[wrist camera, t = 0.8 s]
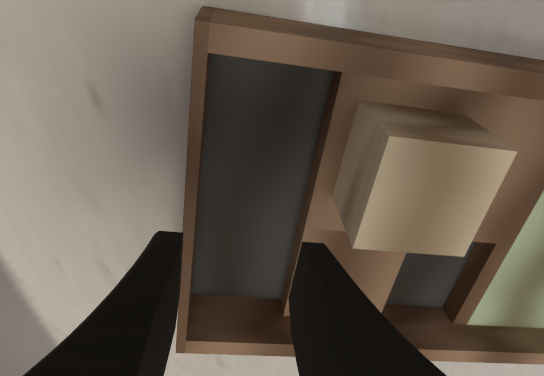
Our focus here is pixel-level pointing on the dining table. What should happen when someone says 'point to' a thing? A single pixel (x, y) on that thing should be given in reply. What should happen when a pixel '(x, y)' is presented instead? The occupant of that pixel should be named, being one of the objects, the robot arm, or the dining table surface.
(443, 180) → the birch block
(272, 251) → the trap box
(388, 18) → the dining table surface
